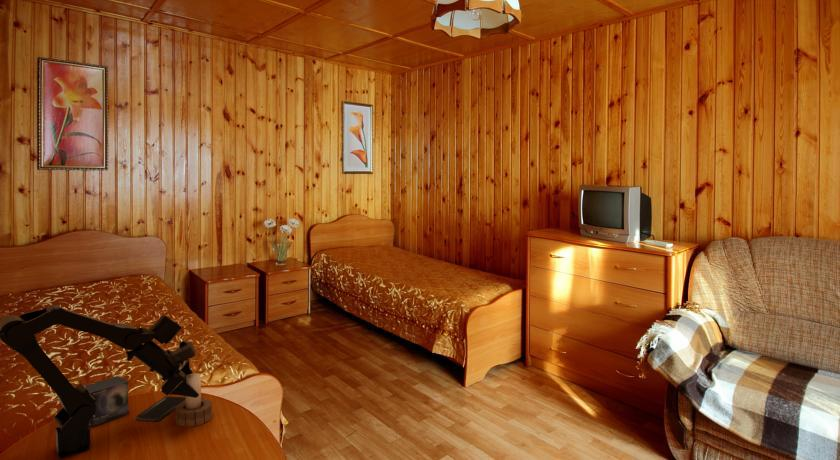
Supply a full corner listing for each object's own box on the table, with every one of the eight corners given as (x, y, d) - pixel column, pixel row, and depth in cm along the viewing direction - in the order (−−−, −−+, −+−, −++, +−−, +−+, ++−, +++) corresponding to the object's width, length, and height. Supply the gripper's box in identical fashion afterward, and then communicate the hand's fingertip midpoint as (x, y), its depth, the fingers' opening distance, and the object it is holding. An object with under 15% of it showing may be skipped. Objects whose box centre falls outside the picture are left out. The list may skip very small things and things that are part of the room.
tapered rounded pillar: (189, 423, 140) (188, 379, 139) (184, 418, 143) (183, 375, 142) (203, 419, 143) (202, 376, 142) (198, 414, 146) (197, 372, 145)
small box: (91, 428, 136) (89, 392, 135) (79, 422, 140) (78, 387, 139) (130, 414, 145) (129, 380, 144) (118, 408, 149) (117, 375, 148)
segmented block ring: (182, 430, 137) (182, 416, 136) (171, 417, 143) (171, 404, 143) (216, 419, 143) (216, 406, 143) (204, 408, 150) (204, 395, 150)
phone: (133, 417, 141) (166, 395, 156) (133, 421, 142) (166, 399, 156) (159, 419, 141) (189, 397, 155) (159, 423, 141) (189, 400, 156)
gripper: (174, 346, 131) (219, 380, 136) (180, 326, 148) (219, 358, 153) (141, 378, 129) (188, 412, 134) (151, 354, 146) (192, 385, 151)
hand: (198, 389), depth 143 cm, fingers open, 9 cm apart
